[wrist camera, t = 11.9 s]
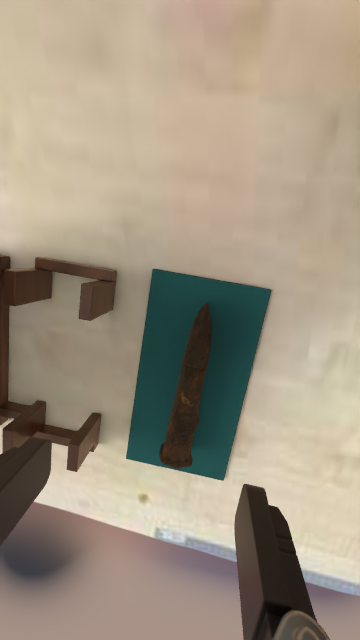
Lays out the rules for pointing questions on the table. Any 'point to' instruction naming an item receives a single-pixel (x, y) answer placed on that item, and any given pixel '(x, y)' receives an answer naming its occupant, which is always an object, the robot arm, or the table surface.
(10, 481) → the robot arm
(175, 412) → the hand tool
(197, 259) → the table surface
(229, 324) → the mat
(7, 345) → the rack
